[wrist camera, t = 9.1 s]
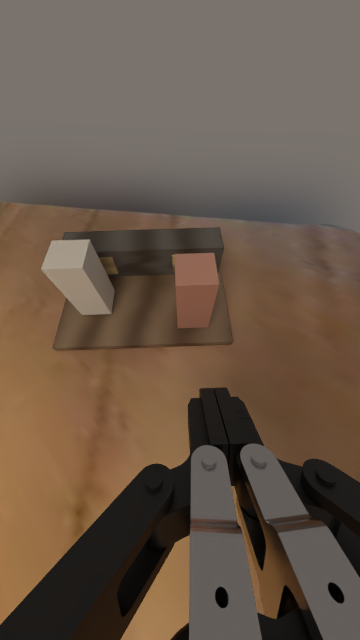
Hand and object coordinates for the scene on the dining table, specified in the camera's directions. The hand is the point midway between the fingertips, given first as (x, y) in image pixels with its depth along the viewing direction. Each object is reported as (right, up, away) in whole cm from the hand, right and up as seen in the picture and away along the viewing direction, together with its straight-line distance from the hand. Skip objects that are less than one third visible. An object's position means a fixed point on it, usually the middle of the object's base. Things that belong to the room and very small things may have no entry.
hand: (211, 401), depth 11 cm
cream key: (-13, +7, +17) cm, 23 cm away
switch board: (-7, +9, +19) cm, 22 cm away
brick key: (0, +5, +16) cm, 17 cm away
